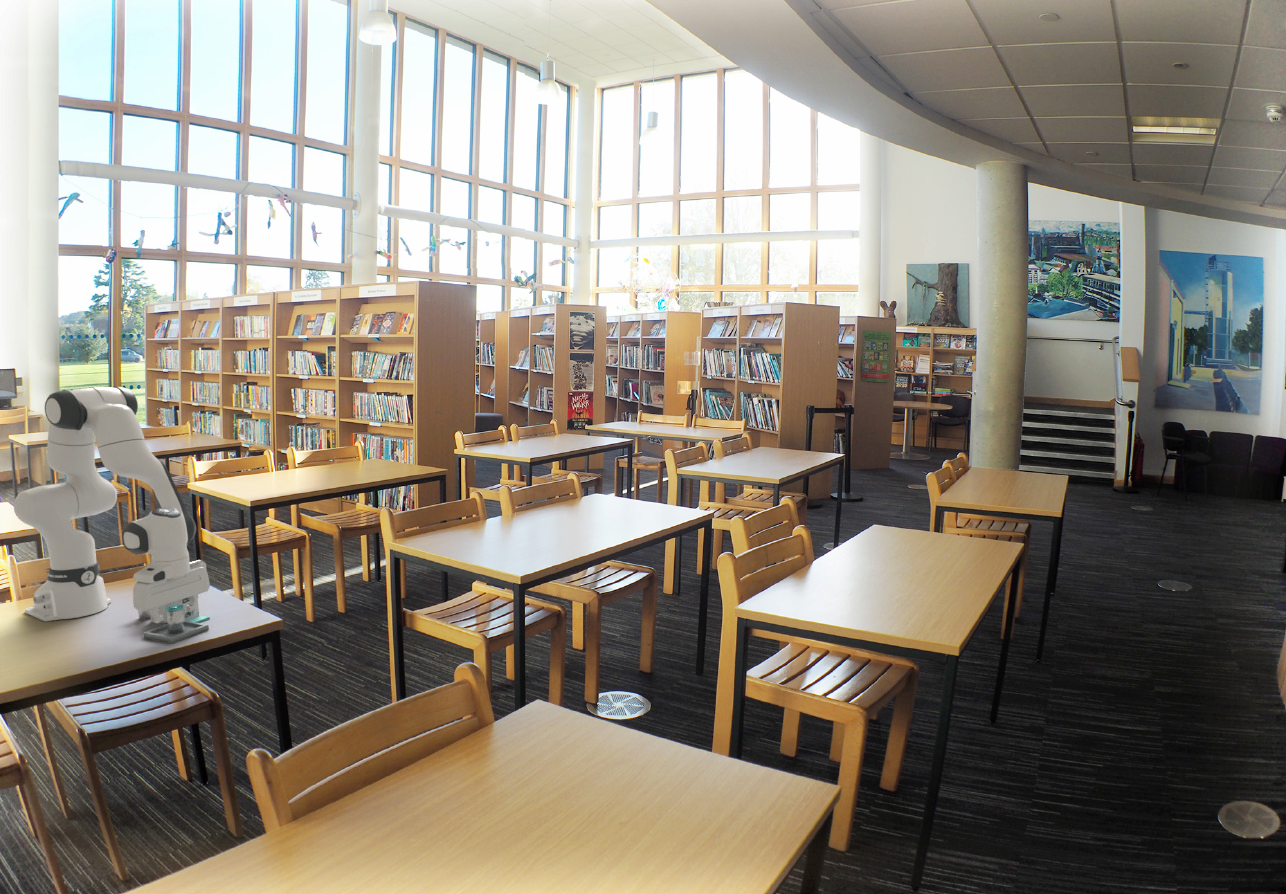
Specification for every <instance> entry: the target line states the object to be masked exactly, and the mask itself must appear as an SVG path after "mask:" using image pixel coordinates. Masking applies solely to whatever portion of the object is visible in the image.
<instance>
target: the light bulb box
mask: <svg viewBox="0 0 1286 894" xmlns="http://www.w3.org/2000/svg"><path fill="white" fill-rule="evenodd" d="M189 601H190V598H185V599H182V600H179V601H176V602H173V603H170V604H167V605H164V606H161V607H159V611H157V612H158V614H159V615H163V619H164V621H163V622H160V623H164V624H167V614H166V608H167V607H169V606H172V605H183V612H184V620H186V621H188V620H191V619H194V618H197V617H199V616H200V611H199V610H200V609H199V598H198V599H197V602H196V604H195V611H192V612H187V611H186V605H188V604H189ZM150 617H151V619H150V623H155V622H154V617H153V616H152V615H151V613H150ZM160 623H159V624H160Z"/></svg>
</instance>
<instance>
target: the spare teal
mask: <svg viewBox="0 0 1286 894" xmlns="http://www.w3.org/2000/svg"><path fill="white" fill-rule="evenodd" d="M166 614H167V623H166V624H167V625H168V634H179V633H182V632H184V631H185V623H184V612H183V605H172V606H169V607H167V608H166Z"/></svg>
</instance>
